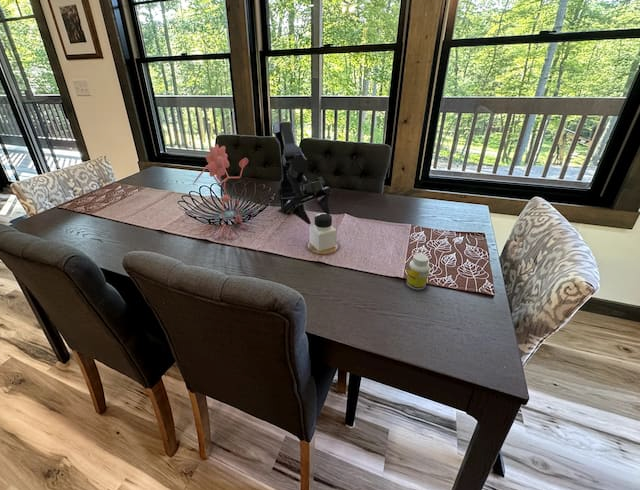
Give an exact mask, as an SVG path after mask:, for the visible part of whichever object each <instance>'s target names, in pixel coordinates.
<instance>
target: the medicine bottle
mask: <svg viewBox="0 0 640 490" xmlns="http://www.w3.org/2000/svg"><path fill="white" fill-rule="evenodd" d="M332 225H333V216H332V215H331V214H330V215H329V214H327V213H324V212H321V213H317V214H315V216H314V224H313V225H312V224H311V225H310V226H309V241H310V243H311V244H312V245H313V246H314V247H315V248H316V249H317V250H318V251H319V252H320V251H323V250H326V249H330V248H333V247H336V243H337V234H338V233H337V232H338V231H337V228H335V227H334V226H332Z"/></svg>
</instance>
